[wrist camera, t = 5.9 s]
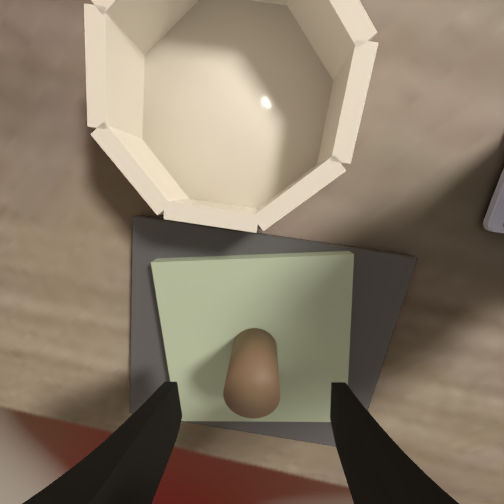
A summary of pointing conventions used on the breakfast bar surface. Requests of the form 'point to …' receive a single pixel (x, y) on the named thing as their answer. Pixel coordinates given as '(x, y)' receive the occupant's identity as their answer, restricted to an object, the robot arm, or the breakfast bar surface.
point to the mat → (249, 243)
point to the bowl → (227, 101)
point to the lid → (256, 333)
